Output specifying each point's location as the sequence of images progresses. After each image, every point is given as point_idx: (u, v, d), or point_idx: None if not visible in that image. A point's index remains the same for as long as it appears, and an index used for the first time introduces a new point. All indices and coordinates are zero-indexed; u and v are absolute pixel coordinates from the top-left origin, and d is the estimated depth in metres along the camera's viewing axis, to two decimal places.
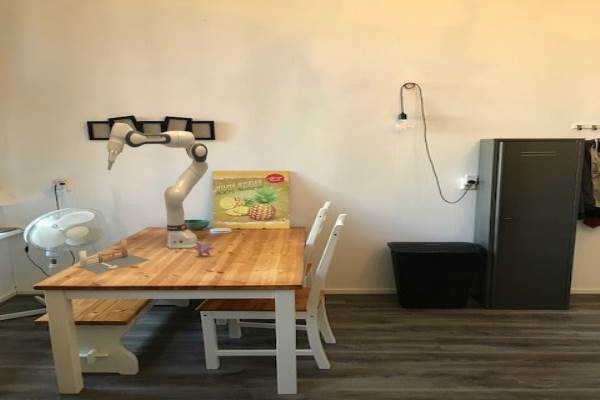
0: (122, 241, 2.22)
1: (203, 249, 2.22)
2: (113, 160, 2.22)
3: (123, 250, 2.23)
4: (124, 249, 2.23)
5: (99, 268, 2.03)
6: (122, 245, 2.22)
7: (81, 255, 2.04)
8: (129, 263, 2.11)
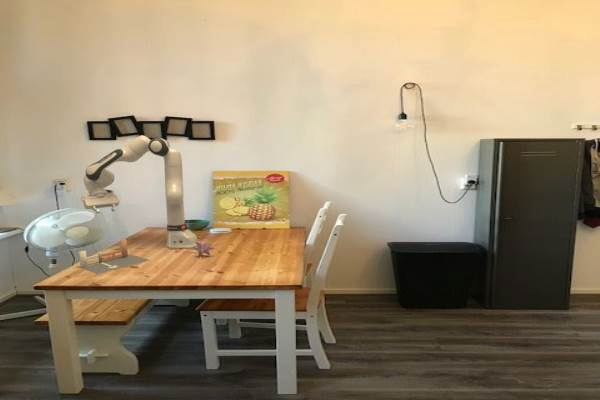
0: (122, 241, 2.22)
1: (203, 249, 2.22)
2: (85, 204, 2.27)
3: (123, 250, 2.23)
4: (124, 249, 2.23)
5: (99, 268, 2.03)
6: (122, 245, 2.22)
7: (81, 255, 2.04)
8: (129, 263, 2.11)
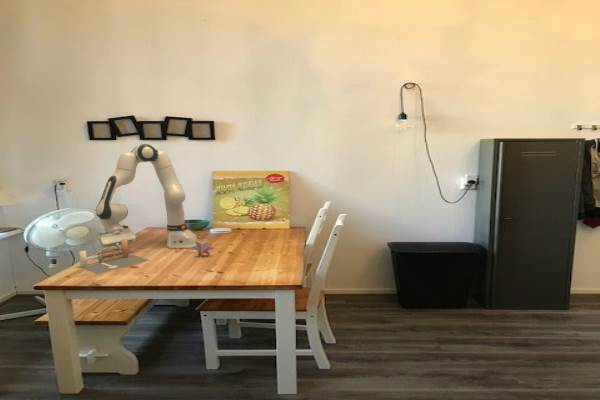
0: (123, 241, 2.21)
1: (203, 249, 2.22)
2: (102, 243, 2.19)
3: (124, 250, 2.22)
4: (125, 249, 2.22)
5: (99, 268, 2.03)
6: (123, 245, 2.22)
7: (81, 255, 2.04)
8: (129, 263, 2.11)
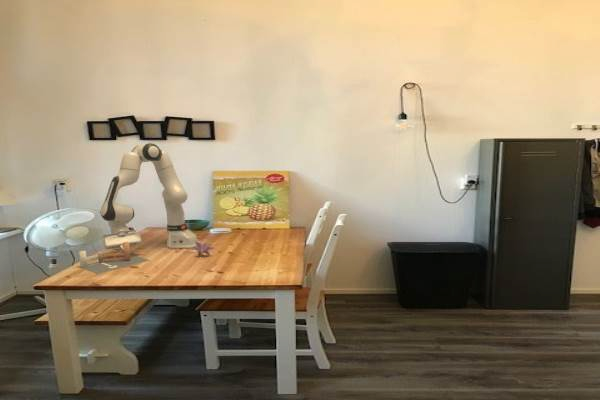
0: (123, 244, 2.15)
1: (203, 249, 2.23)
2: (105, 245, 2.14)
3: (124, 253, 2.15)
4: (125, 252, 2.15)
5: (99, 268, 2.03)
6: (124, 248, 2.15)
7: (81, 255, 2.04)
8: (129, 263, 2.11)
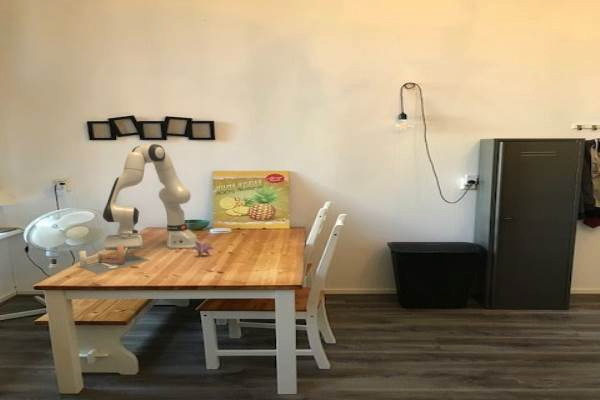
0: (117, 247, 2.08)
1: (202, 249, 2.23)
2: None
3: (118, 256, 2.09)
4: (118, 256, 2.08)
5: (99, 268, 2.03)
6: None
7: (81, 255, 2.04)
8: (129, 263, 2.11)
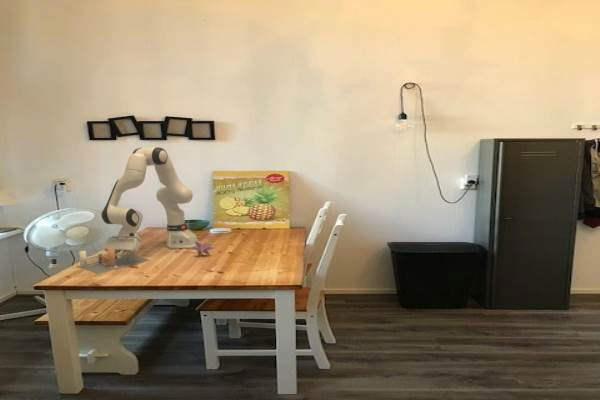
0: None
1: (202, 249, 2.23)
2: None
3: None
4: (108, 258, 2.04)
5: (99, 268, 2.03)
6: None
7: (81, 255, 2.04)
8: (129, 263, 2.11)
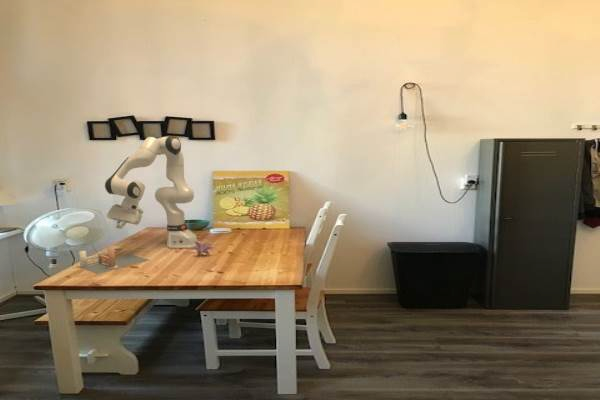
0: None
1: (202, 248, 2.23)
2: None
3: None
4: (108, 258, 2.04)
5: (99, 268, 2.03)
6: None
7: (81, 255, 2.04)
8: (129, 263, 2.11)
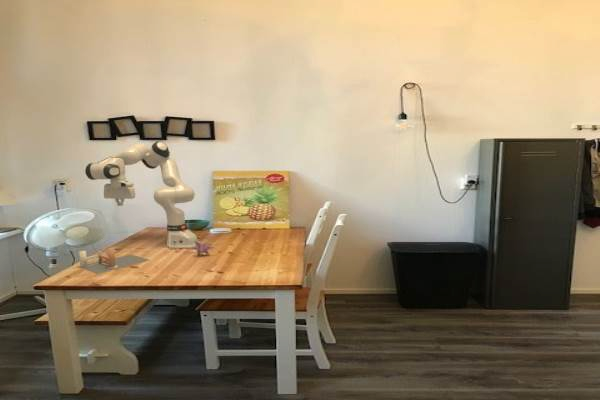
0: None
1: (202, 248, 2.23)
2: None
3: None
4: (108, 258, 2.04)
5: (99, 268, 2.03)
6: None
7: (81, 255, 2.04)
8: (129, 263, 2.11)
